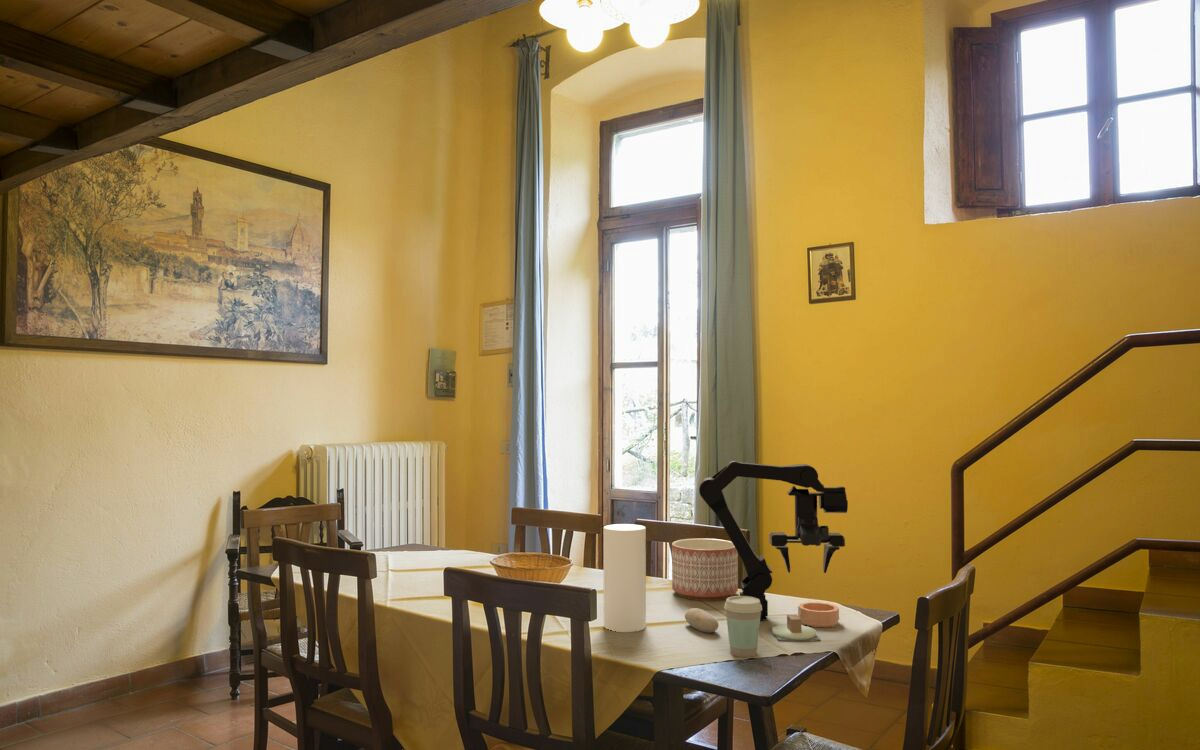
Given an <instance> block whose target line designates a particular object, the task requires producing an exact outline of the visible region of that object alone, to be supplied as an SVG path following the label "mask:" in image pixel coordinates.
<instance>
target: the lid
mask: <svg viewBox="0 0 1200 750" xmlns="http://www.w3.org/2000/svg"><path fill="white" fill-rule="evenodd" d="M772 628H773V629H772V632H771V634H772V635H773V634H774V635H776V636H778V637H781V638H785V639H792V640H806V639H811V638H814V637H816V635H817V630H816V629H815V628H814V627H809V626H805V625H803V624H801V619H800V617H799V616H798V614H787V615H786V624H778V625H776V626H773V627H772ZM774 635H773V636H774Z"/></svg>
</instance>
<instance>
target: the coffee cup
mask: <svg viewBox="0 0 1200 750" xmlns="http://www.w3.org/2000/svg"><path fill="white" fill-rule="evenodd" d="M725 600H726V601H725V603H724V607H723V609H725V616H726V625H727V634H728V642H729V643H728V644H729V651H730V653H731V655H732V656H736V657H739V658H750V657H754V656H756V655H757V654H758V653H757V652H758V645H759V644H758V642H759V635H760V634H759V633H760V625H761V620H760V616H761V611H762V605H761V603H760V600H759V599H757V598H754V597H749V596H740V595H734V596H733V595H731V596H730V597H729V598H726V599H725Z"/></svg>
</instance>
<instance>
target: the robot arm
mask: <svg viewBox="0 0 1200 750" xmlns="http://www.w3.org/2000/svg"><path fill="white" fill-rule="evenodd" d="M737 477H740V478H741V477H742V478H749V479H750V478H753V479H763V480H772V481H781V482H786V483H788V484H791V485H792V486H791V488H790V489H789V490H788V491H786V493H787V495H788V496H792V497H793V496H794V535H787V534H786V533H785V532H783V531H782V532H781V531H780V532H778V531H777V532H775V531H774V532H773V531H771V532H770V533H769V535H768V543H769V544H770V545H771V547H774V548H775V549H776V550H779V552H780V553H781V556H782V560H783V562H784V564H785V567H786V570H787V571H786V572H787V573H789V574H790V573H791V563H790V556H789V547H788V546H787V544H789V543H790V544H801V545H802V546H805V547H807V546H815V547H819V546H821V544H823V558H822V559H823V560H822V562H823V563H822V568H823V570H822V571H823V573H824V574H826V573H827V571H828V568H829V564H830V563H831V562H830V561H831V560H832V559H831V558H832V557H833V555H834V553H835V552H836V551H839V550H840V548H843V547H845V546H846V540H845V537H844V535H842V534H841V533H840V532H830V530H829V529H830V528H829V526H828V525H819V520H818V507H819V509H821V510H823V513H824V514H846V513H847V512H848V499H847V498H848V497H847V493H846V487H844V486H833V487H832V486H829V487H827V486H825V485H824V484H823V483H822V482H821V481H820V480H819V474H818V472H817V470H816V468H815V467H813V466H811V465H810V464H807V463H798V464H788V465H772V464H763V463H762V464H761V463H752V462H751V463H750V462H740V461H737V460H731V461H729V462H728V463H727V464H726V465H725V466H724V467H723V468H721V470H719V471H717V472H716V473H715V474H714V475H712V476H711V477H706V478H703V479H702V480H701V481H700V483H699V485H698V491H699V495H700V497H701V498H702V500H703V501H704V502H705V503H706V504H707V506H708V507H709V508H710V509H711V510H712V511H713V513H714V514H715V515H716V516H717V518H718V520H719V522H720V523H721V525H722V526H723V528H724V530H725V532H726V535H727V536H728V537H729V539H730V541H731V542H732V543H733V545H734V546H735V548H736V550H737V552H738V556H739V557H740V559H741V561H742V564H743V565H744V568H745V572H746V574H747V576H745V577H744V578H743V579H742V580H741V581H740V586H741V590H742V591H740V592H739V596H749V597H754V598H757V599H759V600H760V603H761V605H762V611H761V616H760V621H768V616H769V610H768V608H769V606H768V603H769V602H768V601H769V600H768V599H767V598H766V594H765V592H766V590H768V589H770V587H771V586H772V583H773V576H772V574H773V569H772V567H770V566H769V565H768V564H767V562H766V558H765V556H764V555H763V554H761V555H760V556H758V555H757V553H755V551H754V550H753V549H752V547H751V545H750V543H749V542H748V540H747V538H746V537H745V535H744V533H743V531H742V530H741V528H740V526H739V523H738V522H737V521H736V518H735V517H734V515H733V514H732V511H731V510H730V508H729V507H728V504H727V501H726V499H725V496H724V492H723V490H724V489H725V488H726V487H728V486H729V485H730V484H731V483H732V482H733V481H734V480H735V479H736V478H737ZM797 486H799V487H802V488H797ZM808 488H811V489H813V490H814V491H816V492H810V491H809V489H808Z"/></svg>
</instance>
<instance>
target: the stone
mask: <svg viewBox="0 0 1200 750" xmlns="http://www.w3.org/2000/svg"><path fill="white" fill-rule="evenodd" d="M684 619H685V620H686V622H687V623H688V625H690V626H691V627H692V628H694V629H695V630H698V631H699V632H703V633H714V632H715V631H717V630H718V629H719V627H720V626H719V621H718V620H717V618H716V617H714V616H713V615H712V614H711V613H709V612H708V611H706V610H705V609H701V608H697V607H693V608H689V609H688V610H686V612H685V614H684Z"/></svg>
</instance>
